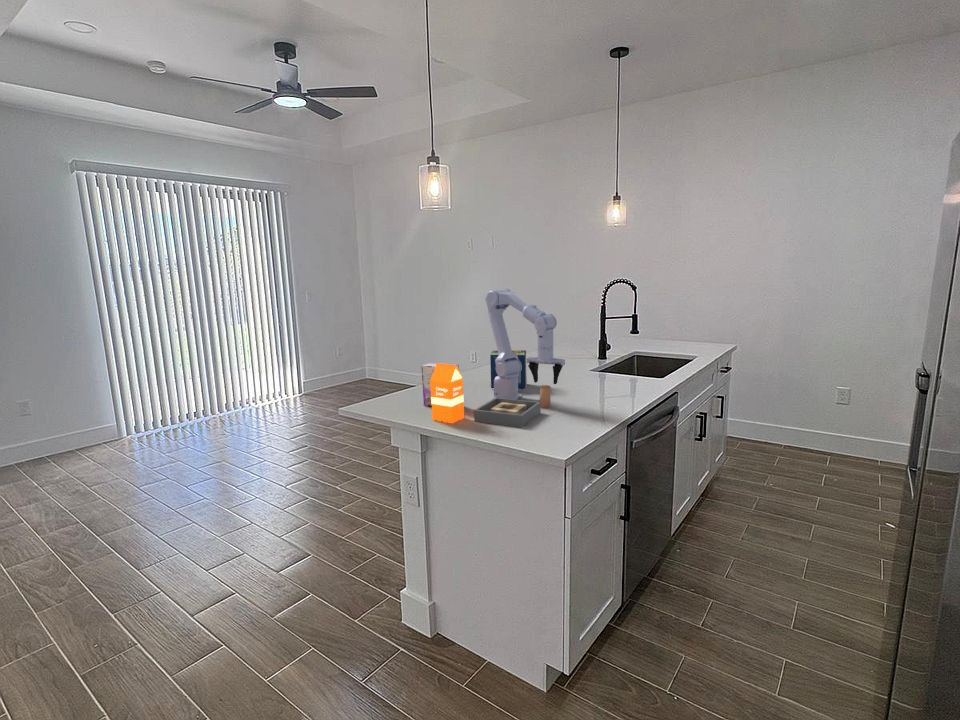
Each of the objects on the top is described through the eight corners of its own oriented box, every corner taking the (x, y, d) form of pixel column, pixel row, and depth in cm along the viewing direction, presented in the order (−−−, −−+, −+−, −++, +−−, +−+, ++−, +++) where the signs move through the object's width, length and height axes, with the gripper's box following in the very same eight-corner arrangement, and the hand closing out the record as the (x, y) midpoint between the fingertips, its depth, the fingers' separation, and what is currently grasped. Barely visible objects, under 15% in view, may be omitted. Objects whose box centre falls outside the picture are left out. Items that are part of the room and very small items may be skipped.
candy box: (461, 405, 201) (459, 364, 198) (454, 409, 196) (452, 367, 193) (430, 402, 207) (428, 362, 204) (423, 406, 201) (420, 364, 198)
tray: (474, 421, 180) (473, 410, 180) (495, 407, 196) (495, 397, 195) (521, 427, 172) (521, 415, 172) (540, 412, 188) (540, 402, 187)
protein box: (493, 383, 235) (492, 350, 232) (526, 383, 233) (526, 350, 230) (490, 389, 225) (489, 354, 222) (525, 389, 223) (525, 354, 220)
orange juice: (452, 423, 178) (449, 367, 175) (431, 420, 183) (429, 365, 179) (464, 417, 185) (462, 363, 181) (444, 414, 190) (442, 361, 186)
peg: (538, 407, 195) (538, 387, 193) (542, 404, 198) (542, 384, 197) (548, 408, 193) (548, 388, 191) (552, 405, 196) (552, 385, 195)
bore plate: (490, 414, 185) (490, 409, 185) (502, 407, 194) (501, 402, 193) (516, 417, 181) (516, 411, 180) (526, 409, 189) (526, 404, 189)
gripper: (523, 348, 191) (523, 383, 193) (561, 350, 185) (561, 386, 187) (530, 345, 197) (530, 379, 200) (566, 346, 191) (566, 382, 193)
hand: (545, 382), depth 194 cm, fingers open, 7 cm apart
